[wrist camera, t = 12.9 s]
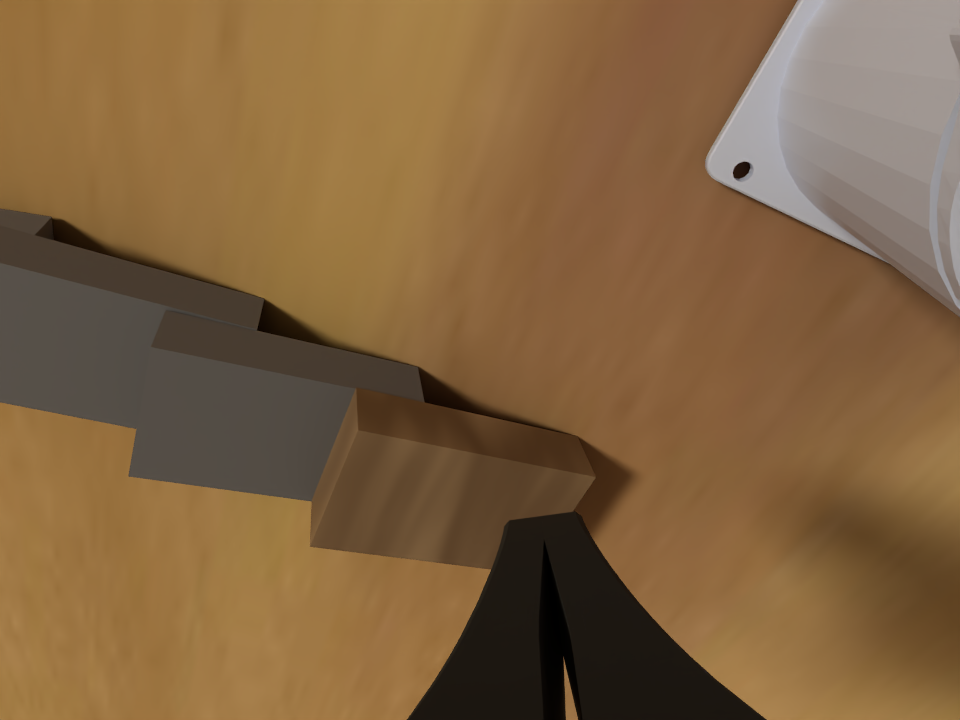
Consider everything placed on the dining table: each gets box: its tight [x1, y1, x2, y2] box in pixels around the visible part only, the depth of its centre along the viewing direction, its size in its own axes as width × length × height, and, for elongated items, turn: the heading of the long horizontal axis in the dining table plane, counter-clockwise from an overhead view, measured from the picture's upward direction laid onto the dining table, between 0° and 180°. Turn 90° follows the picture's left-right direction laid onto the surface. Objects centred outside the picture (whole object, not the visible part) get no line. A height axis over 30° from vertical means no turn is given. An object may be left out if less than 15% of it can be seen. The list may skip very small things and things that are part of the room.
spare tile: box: [310, 387, 596, 569], centre depth 22 cm, size 2×5×8 cm
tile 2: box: [0, 226, 264, 429], centre depth 21 cm, size 2×5×8 cm
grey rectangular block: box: [129, 310, 424, 501], centre depth 21 cm, size 2×5×8 cm
